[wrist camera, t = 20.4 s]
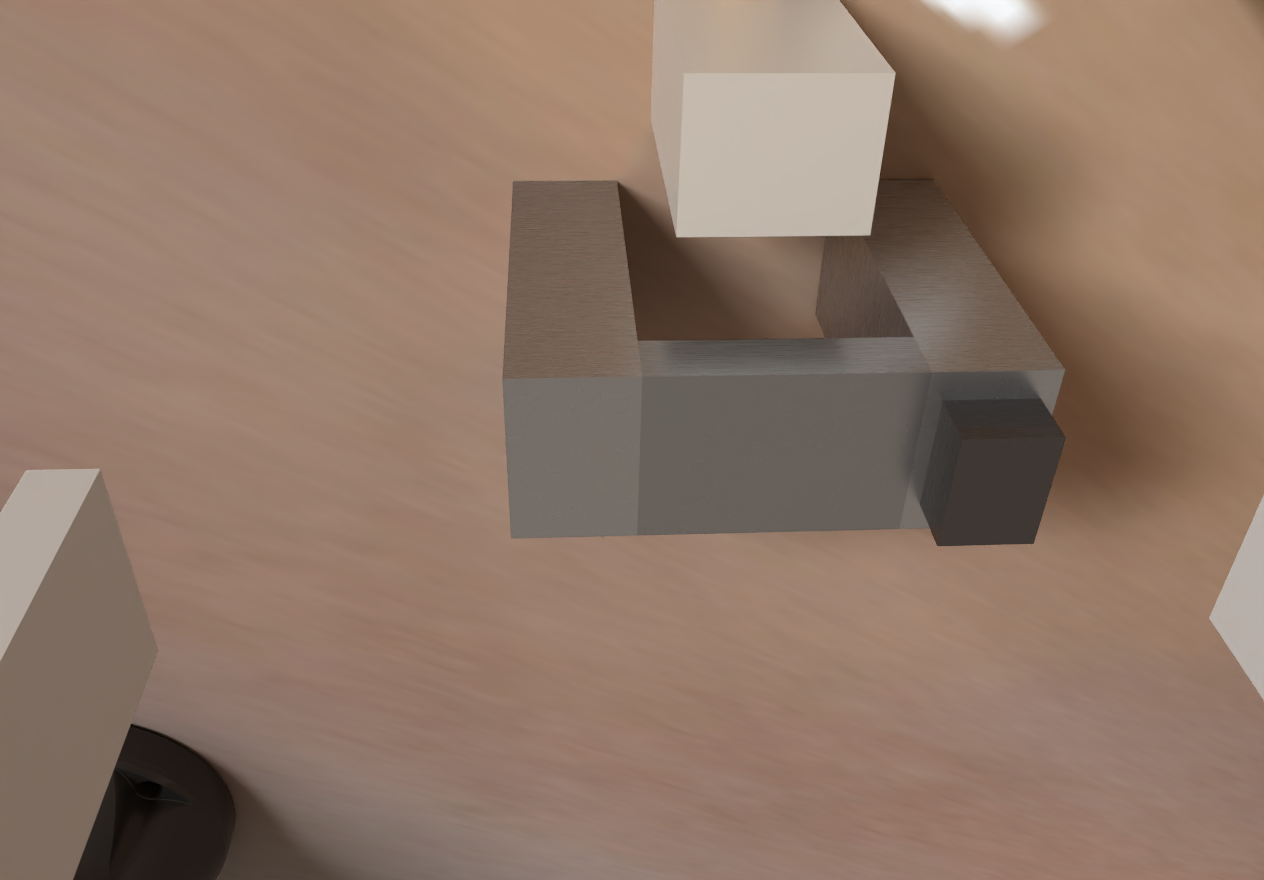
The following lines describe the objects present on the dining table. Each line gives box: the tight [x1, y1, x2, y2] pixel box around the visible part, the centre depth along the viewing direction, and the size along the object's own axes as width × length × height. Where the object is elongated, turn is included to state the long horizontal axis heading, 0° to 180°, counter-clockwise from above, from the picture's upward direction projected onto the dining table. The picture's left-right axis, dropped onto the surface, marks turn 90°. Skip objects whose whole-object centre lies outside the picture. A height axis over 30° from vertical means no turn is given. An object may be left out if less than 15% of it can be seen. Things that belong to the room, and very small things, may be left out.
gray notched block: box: [503, 180, 1066, 546], centre depth 40 cm, size 16×6×16 cm, turn 89°
